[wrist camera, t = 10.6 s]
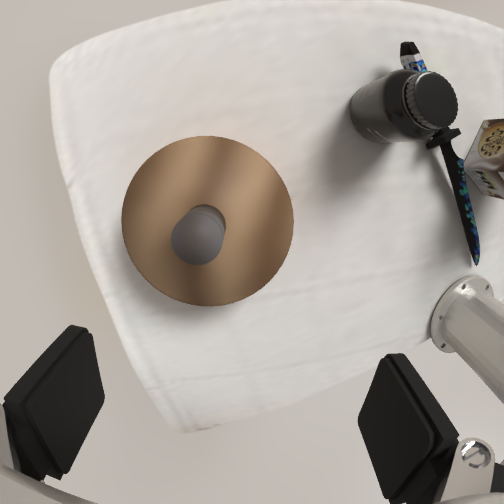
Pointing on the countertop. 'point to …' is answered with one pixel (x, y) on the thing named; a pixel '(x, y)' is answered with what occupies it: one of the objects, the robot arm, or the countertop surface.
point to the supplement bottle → (404, 107)
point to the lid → (207, 221)
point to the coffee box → (488, 159)
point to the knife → (448, 157)
